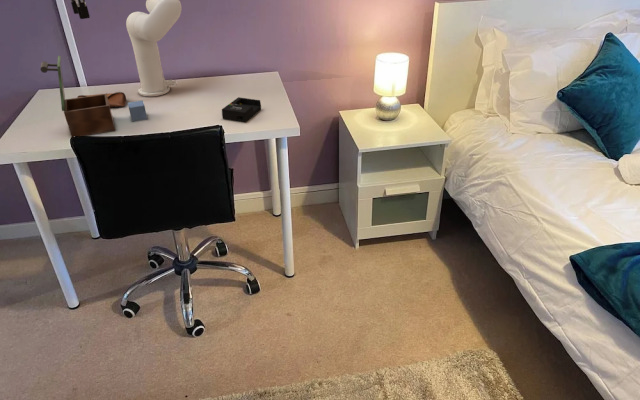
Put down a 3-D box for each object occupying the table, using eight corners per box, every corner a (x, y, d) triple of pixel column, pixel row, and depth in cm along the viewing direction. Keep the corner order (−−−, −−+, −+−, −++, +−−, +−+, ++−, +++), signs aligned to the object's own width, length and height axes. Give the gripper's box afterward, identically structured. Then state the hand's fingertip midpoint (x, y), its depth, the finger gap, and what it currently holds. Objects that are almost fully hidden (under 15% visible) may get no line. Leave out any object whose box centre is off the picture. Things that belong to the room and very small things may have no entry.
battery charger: (245, 123, 175) (244, 112, 173) (222, 119, 178) (221, 109, 176) (261, 109, 185) (260, 100, 183) (239, 106, 188) (238, 96, 186)
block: (145, 113, 183) (142, 100, 180) (147, 119, 178) (144, 105, 175) (130, 116, 181) (127, 102, 178) (132, 121, 177) (128, 107, 174)
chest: (112, 117, 180) (106, 93, 175) (115, 130, 170) (108, 105, 165) (71, 123, 175) (64, 99, 170) (71, 137, 166) (63, 112, 160)
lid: (60, 55, 163) (41, 54, 160) (60, 66, 153) (39, 65, 151) (65, 98, 170) (46, 98, 168) (64, 111, 160) (44, 110, 158)
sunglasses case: (75, 111, 184) (72, 93, 183) (80, 114, 190) (77, 97, 190) (125, 106, 188) (122, 89, 187) (128, 109, 194) (125, 92, 194)
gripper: (85, -36, 158) (98, 18, 168) (74, -41, 170) (87, 10, 180) (60, -34, 155) (75, 22, 164) (51, -40, 167) (65, 12, 176)
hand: (81, 15), depth 172 cm, fingers open, 9 cm apart
